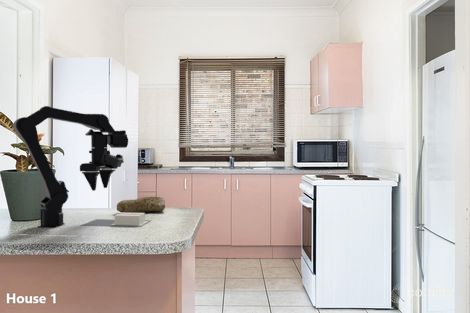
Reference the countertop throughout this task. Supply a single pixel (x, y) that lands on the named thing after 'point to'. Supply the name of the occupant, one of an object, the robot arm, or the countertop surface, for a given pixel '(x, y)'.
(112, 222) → the mat
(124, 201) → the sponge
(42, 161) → the robot arm
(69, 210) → the countertop surface
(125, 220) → the card box
